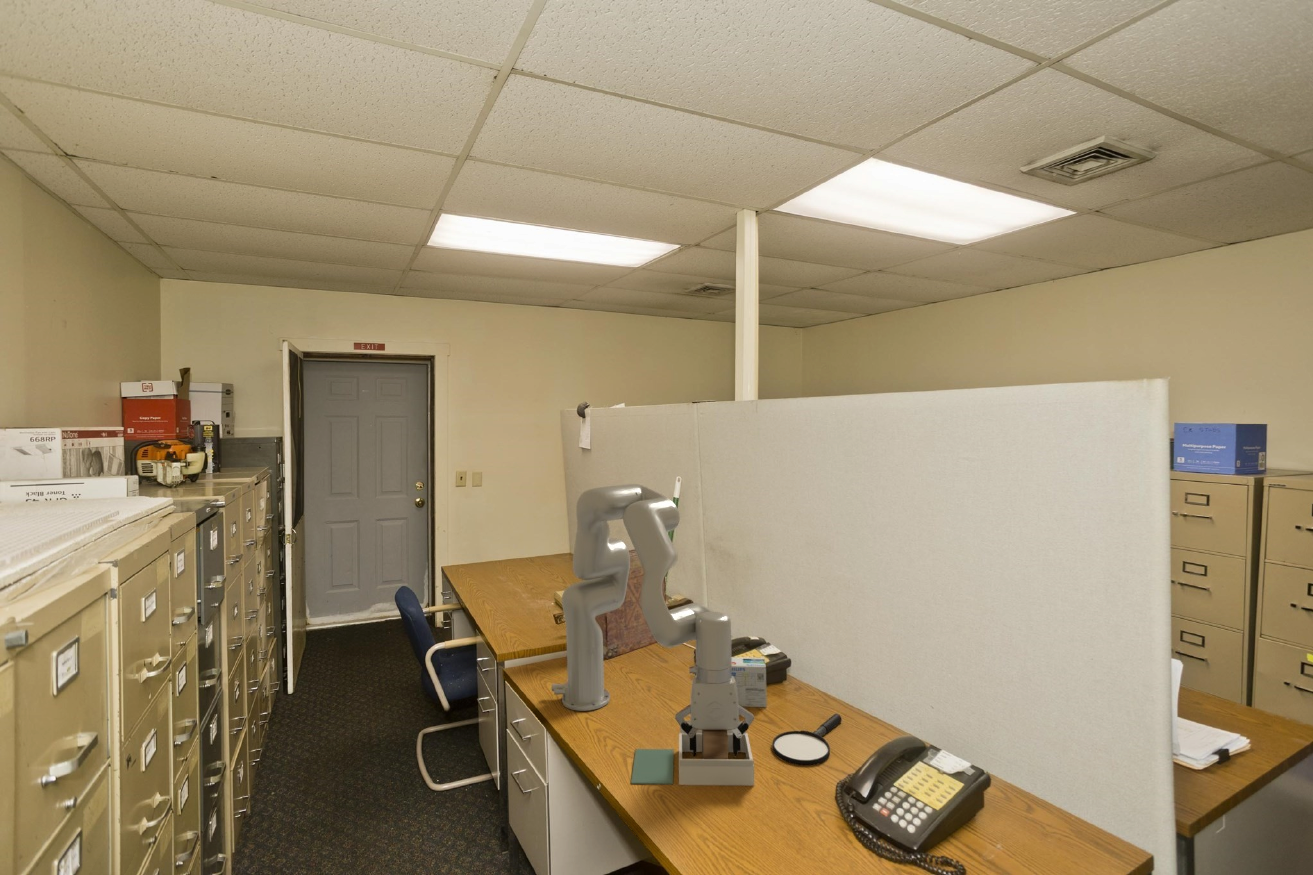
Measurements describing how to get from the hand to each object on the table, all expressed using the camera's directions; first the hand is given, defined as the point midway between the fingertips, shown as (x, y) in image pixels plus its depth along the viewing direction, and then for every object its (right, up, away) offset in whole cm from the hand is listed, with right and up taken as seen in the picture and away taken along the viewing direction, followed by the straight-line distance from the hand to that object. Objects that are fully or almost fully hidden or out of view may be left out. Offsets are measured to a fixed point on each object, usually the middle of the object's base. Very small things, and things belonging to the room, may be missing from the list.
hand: (714, 752), depth 134 cm
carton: (0, -3, 0) cm, 3 cm away
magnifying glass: (+24, -3, +11) cm, 26 cm away
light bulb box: (+11, -2, +31) cm, 33 cm away
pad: (-13, -3, +1) cm, 14 cm away
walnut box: (0, -3, 0) cm, 3 cm away
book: (-21, -1, +72) cm, 75 cm away
